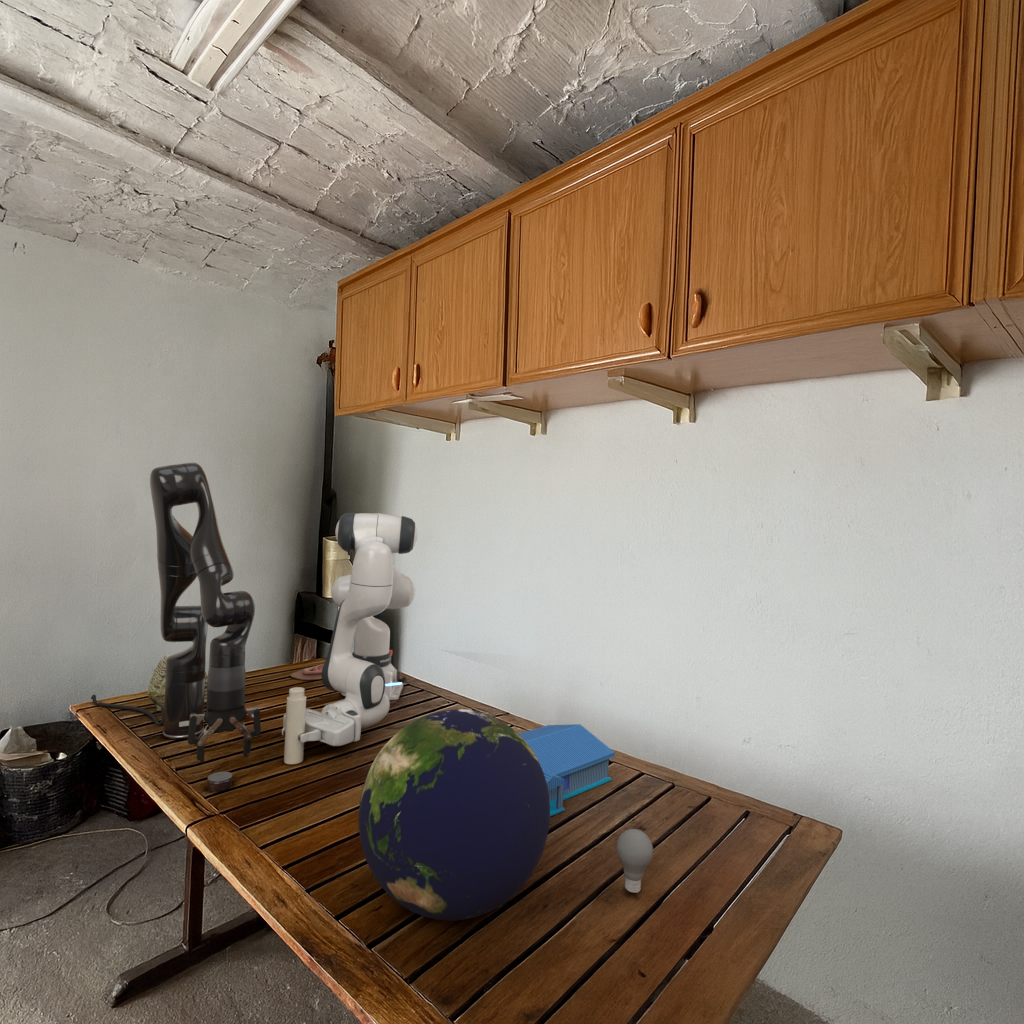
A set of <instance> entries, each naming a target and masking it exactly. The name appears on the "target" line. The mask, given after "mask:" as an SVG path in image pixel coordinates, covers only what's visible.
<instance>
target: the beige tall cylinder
mask: <svg viewBox="0 0 1024 1024" xmlns="http://www.w3.org/2000/svg"><path fill="white" fill-rule="evenodd" d="M305 690H306V689H305V688H304V687H299V686H296V687H295V686H294V687H291V688H289V690H288V696H287V697H286V705H285V709H286V710H285V711H286V712H285V714H286V725H285V736H284V750H283V763H284V764H287V765H297V764H301V763H302V762H304V759H305V758H304V755H305V742H303V743H302V742H300V741H298V734H300V733H303V732H305V717H306V709H307V696H306V695H305V692H306V691H305Z"/></svg>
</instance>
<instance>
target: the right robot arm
mask: <svg viewBox="0 0 1024 1024" xmlns="http://www.w3.org/2000/svg"><path fill="white" fill-rule="evenodd" d="M418 536H419V535H418V528H417V525H416V522H415V520H414V519H413V518H411V517H408V516H405V515H402V516H399V515H394V514H388V513H381V512H375V513H371V512H370V513H369V512H366V513H365V512H362V513H356V512H355V511H354V512H346V513H343V514H342V515H341V516H340V517H339V520H338V522H337V523H336V527H335V538H336V539H335V540H336V541H337V545H338V546H339V547H340V549H341V550H343V551H344V552H346V553H347V556H349V557H350V556H351V554H352V552H355V553H354V559H353V562H352V567H351V574H346V575H340V576H338V577H337V578H336V579H335V581H334V582H333V584H332V586H331V598H332V600H333V602H334V604H335V605H336V606H337V607H338V608H337V612H336V615H335V616H336V617H335V621H334V625H333V629H332V635H331V638H330V642H329V647H328V651H327V655H326V658H325V660H324V662H323V664H324V665H323V668H322V679H321V681H322V684H323V685H324V687H325V688H326V690H329V691H332V692H336V693H340V695H341V696H344V697H345V698H344V699H341V700H338V701H335V702H332V703H329V704H325V706H324V707H323V708H322V710H321V711H318V710H316V709H315V710H314V709H311V708H306V717H305V732H303V733H300V734H298V741H300V742H302V743H303V742H304V743H307V742H315V741H318V742H321V743H324V744H327V745H329V746H331V747H341V746H344V745H347V744H351V743H352V742H353V743H356V742H358V741H360V740H361V733H362V730H365V729H367V728H369V727H372V726H374V725H376V724H378V723H380V722H382V720H383V719H384V718H386V717H387V715H388V714H389V711H390V706H391V705H390V704H391V703H390V701H397V700H399V699H400V696H401V694H402V691H403V689H404V683H403V681H404V680H406V679H407V677H406V676H403V677H402V678H401V677H400V675H401V672H400V671H397V668H395V667H394V665H393V664H392V656H393V649H390V645H391V644H390V641H391V629H390V627H389V625H388V624H387V623H386V622H385V621H383V620H381V619H379V618H376V617H374V616H377V615H379V614H381V613H382V612H384V611H385V610H397V609H402V608H407V607H409V606H411V604H412V603H413V601H414V599H415V597H416V587H415V584H414V581H413V580H412V579H411V578H410V577H409V576H407V575H405V574H404V573H402V572H401V571H400V569H398V567H397V564H396V554H398V555H403V554H409V553H410V552H412V551H413V550H414V547H415V546H416V544H417V542H418ZM352 648H353V651H352ZM282 717H283V718H282V729H281V735H282V736H283V737H285V725H286V713H284V715H283V716H282Z"/></svg>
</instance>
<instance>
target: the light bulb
mask: <svg viewBox="0 0 1024 1024" xmlns="http://www.w3.org/2000/svg"><path fill="white" fill-rule="evenodd" d="M615 849H616V854H617V857H618V859H619V861H620V863H621V865H622V867H623V873H624V874H623V875H624V876H625V878H624V888H625V890H627V891H628V892H630V893H634V894H635V893H639V892H640V891H641V889H642V887H641V886H642V879H643V877H644V875H645V871H646V868H647V867H648V866H649V864H650V863H651V861H652V859H653V855H654V847H653V843H652V841H651V838H649V836H648V835H647V834H646V833H645V832H643V831H642V830H641V829H636V828H629V829H627V830H625V831H623V832H622V833H621V834H620V835H619V837H618V839H617V841H616V847H615Z"/></svg>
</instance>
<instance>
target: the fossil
mask: <svg viewBox="0 0 1024 1024" xmlns="http://www.w3.org/2000/svg"><path fill="white" fill-rule="evenodd" d="M171 655H172V654H165V655H164V656H163V657H162V658H161V659H160V660H159V662H158V663H157V666H156V667H155V669H154V670H153V672H152V675H151V677H150V680H149V684H148V688H147V697H148V699H149V700H150V701H152V703H153V704H154V706H155V711H158V712H159V711H160V712H161V706H164V705H165V674H166V660H167V658H168V657H169V656H171ZM207 678H208V673H207V672H206V671H205V693H204V707H207Z"/></svg>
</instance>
